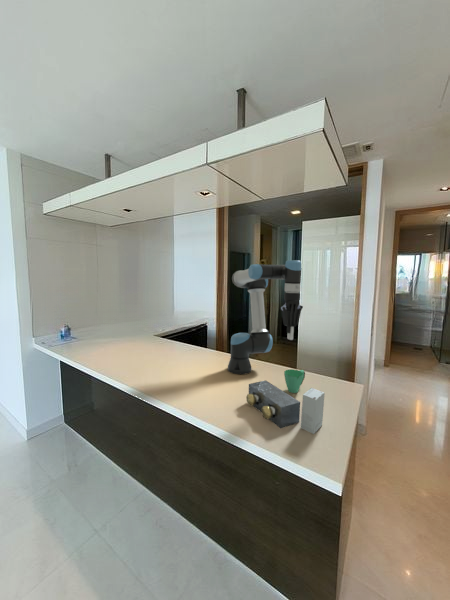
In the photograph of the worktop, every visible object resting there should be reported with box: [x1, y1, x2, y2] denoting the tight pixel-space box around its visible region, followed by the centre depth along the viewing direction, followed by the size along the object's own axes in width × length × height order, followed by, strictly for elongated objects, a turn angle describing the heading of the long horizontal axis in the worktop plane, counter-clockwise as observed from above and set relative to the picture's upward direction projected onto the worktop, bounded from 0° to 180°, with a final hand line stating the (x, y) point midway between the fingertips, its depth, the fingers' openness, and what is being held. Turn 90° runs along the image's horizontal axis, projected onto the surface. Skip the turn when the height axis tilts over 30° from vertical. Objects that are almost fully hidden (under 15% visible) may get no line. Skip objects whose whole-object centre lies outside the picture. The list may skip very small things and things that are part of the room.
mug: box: [283, 368, 306, 394], centre depth 140 cm, size 15×10×10 cm
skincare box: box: [300, 387, 325, 435], centre depth 105 cm, size 8×6×15 cm
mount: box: [248, 380, 301, 429], centre depth 118 cm, size 24×10×9 cm, turn 28°
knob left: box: [246, 393, 259, 407], centre depth 122 cm, size 5×12×5 cm, turn 118°
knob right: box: [261, 405, 275, 420], centre depth 111 cm, size 5×12×5 cm, turn 118°
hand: (290, 339), depth 131 cm, fingers closed
